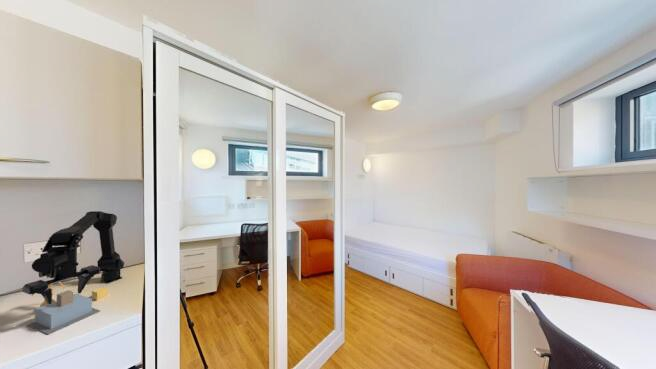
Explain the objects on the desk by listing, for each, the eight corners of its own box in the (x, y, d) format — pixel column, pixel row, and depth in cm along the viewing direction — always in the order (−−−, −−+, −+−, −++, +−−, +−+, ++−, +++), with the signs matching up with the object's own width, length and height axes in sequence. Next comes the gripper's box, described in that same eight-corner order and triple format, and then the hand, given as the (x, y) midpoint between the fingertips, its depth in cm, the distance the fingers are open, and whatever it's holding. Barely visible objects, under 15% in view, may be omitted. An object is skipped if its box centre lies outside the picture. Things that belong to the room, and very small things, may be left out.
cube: (103, 294, 99) (103, 286, 98) (108, 296, 97) (108, 288, 97) (91, 299, 95) (91, 291, 95) (97, 300, 94) (97, 292, 94)
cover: (91, 311, 86) (92, 288, 86) (50, 329, 75) (51, 303, 75) (76, 305, 89) (77, 283, 89) (35, 322, 78) (35, 297, 78)
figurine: (30, 315, 82) (30, 287, 82) (32, 309, 86) (33, 282, 86) (63, 306, 89) (63, 280, 88) (64, 300, 92) (64, 275, 92)
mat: (80, 304, 91) (80, 303, 91) (100, 311, 87) (100, 310, 87) (27, 325, 77) (27, 324, 77) (47, 334, 73) (47, 333, 73)
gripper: (86, 251, 93) (85, 283, 93) (15, 267, 75) (14, 307, 75) (101, 254, 90) (100, 288, 90) (30, 272, 72) (30, 314, 72)
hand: (65, 298), depth 82 cm, fingers open, 8 cm apart
